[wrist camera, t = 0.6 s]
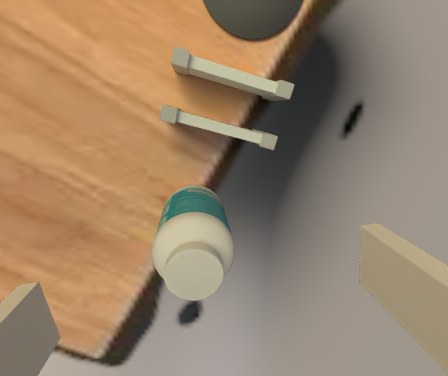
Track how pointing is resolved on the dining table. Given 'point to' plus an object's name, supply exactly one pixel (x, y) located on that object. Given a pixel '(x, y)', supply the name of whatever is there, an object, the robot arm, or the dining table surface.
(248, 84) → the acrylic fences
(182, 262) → the pill bottle
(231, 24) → the coaster
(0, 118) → the dining table surface
